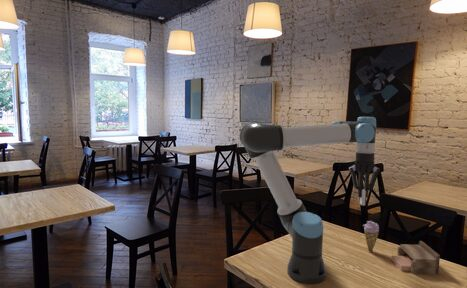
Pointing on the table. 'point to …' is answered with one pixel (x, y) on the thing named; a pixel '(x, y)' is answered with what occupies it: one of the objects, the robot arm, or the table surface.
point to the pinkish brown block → (402, 262)
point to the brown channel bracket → (421, 258)
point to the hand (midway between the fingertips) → (362, 204)
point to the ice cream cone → (371, 234)
